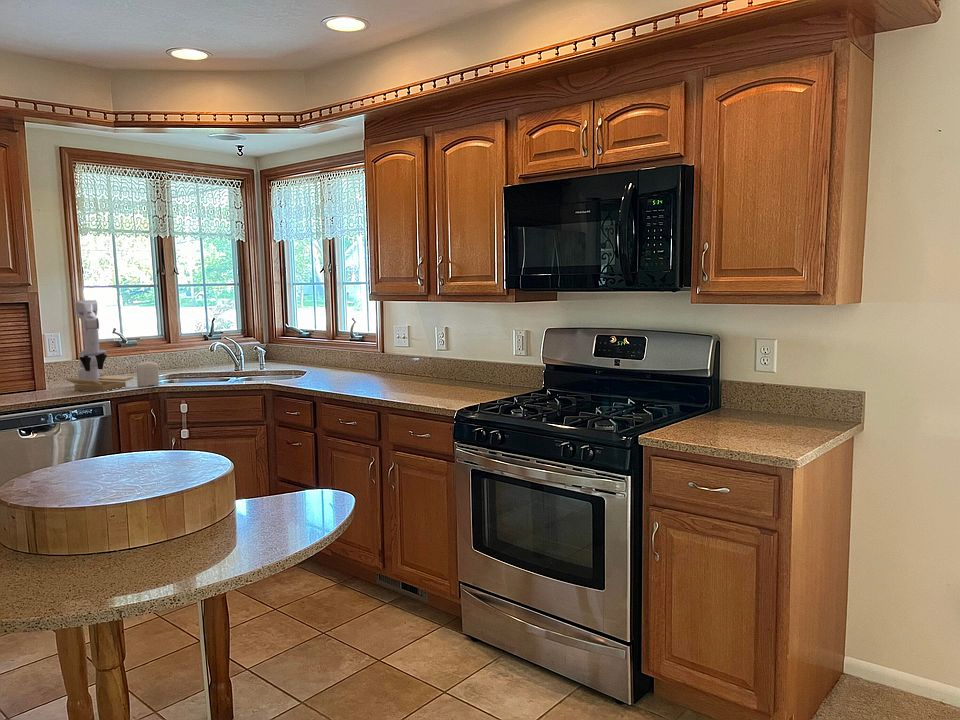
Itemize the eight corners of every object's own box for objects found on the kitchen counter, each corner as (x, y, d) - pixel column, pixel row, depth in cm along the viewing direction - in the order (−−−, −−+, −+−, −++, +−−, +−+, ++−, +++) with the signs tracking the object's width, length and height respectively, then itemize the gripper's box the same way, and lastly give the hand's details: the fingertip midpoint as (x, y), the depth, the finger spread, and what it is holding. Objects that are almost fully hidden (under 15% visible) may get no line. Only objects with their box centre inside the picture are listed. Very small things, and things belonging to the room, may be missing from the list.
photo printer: (158, 384, 381) (157, 361, 379) (160, 385, 377) (158, 361, 376) (136, 386, 375) (135, 362, 374) (138, 387, 372) (137, 363, 370)
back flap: (106, 375, 380) (106, 377, 380) (98, 378, 375) (98, 380, 375) (133, 376, 374) (133, 378, 375) (124, 379, 369) (125, 381, 370)
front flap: (74, 381, 362) (74, 383, 361) (66, 377, 357) (65, 379, 356) (102, 383, 356) (101, 384, 356) (93, 379, 351) (93, 381, 351)
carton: (74, 390, 362) (74, 384, 362) (97, 386, 375) (97, 380, 375) (103, 391, 356) (103, 385, 356) (125, 387, 370) (125, 381, 369)
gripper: (86, 344, 353) (88, 372, 355) (110, 341, 367) (112, 368, 368) (75, 343, 355) (76, 371, 357) (99, 341, 369) (101, 368, 370)
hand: (94, 370), depth 363 cm, fingers open, 7 cm apart
